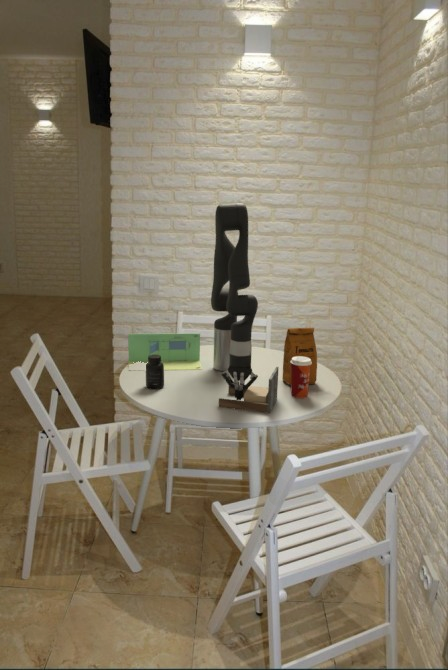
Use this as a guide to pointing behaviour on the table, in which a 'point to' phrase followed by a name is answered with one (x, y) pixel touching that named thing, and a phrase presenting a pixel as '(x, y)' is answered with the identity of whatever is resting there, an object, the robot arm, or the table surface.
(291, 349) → the coffee package
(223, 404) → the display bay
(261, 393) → the carton
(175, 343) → the display stand
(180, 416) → the table surface
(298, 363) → the paper cup
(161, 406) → the table surface
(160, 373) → the supplement bottle
